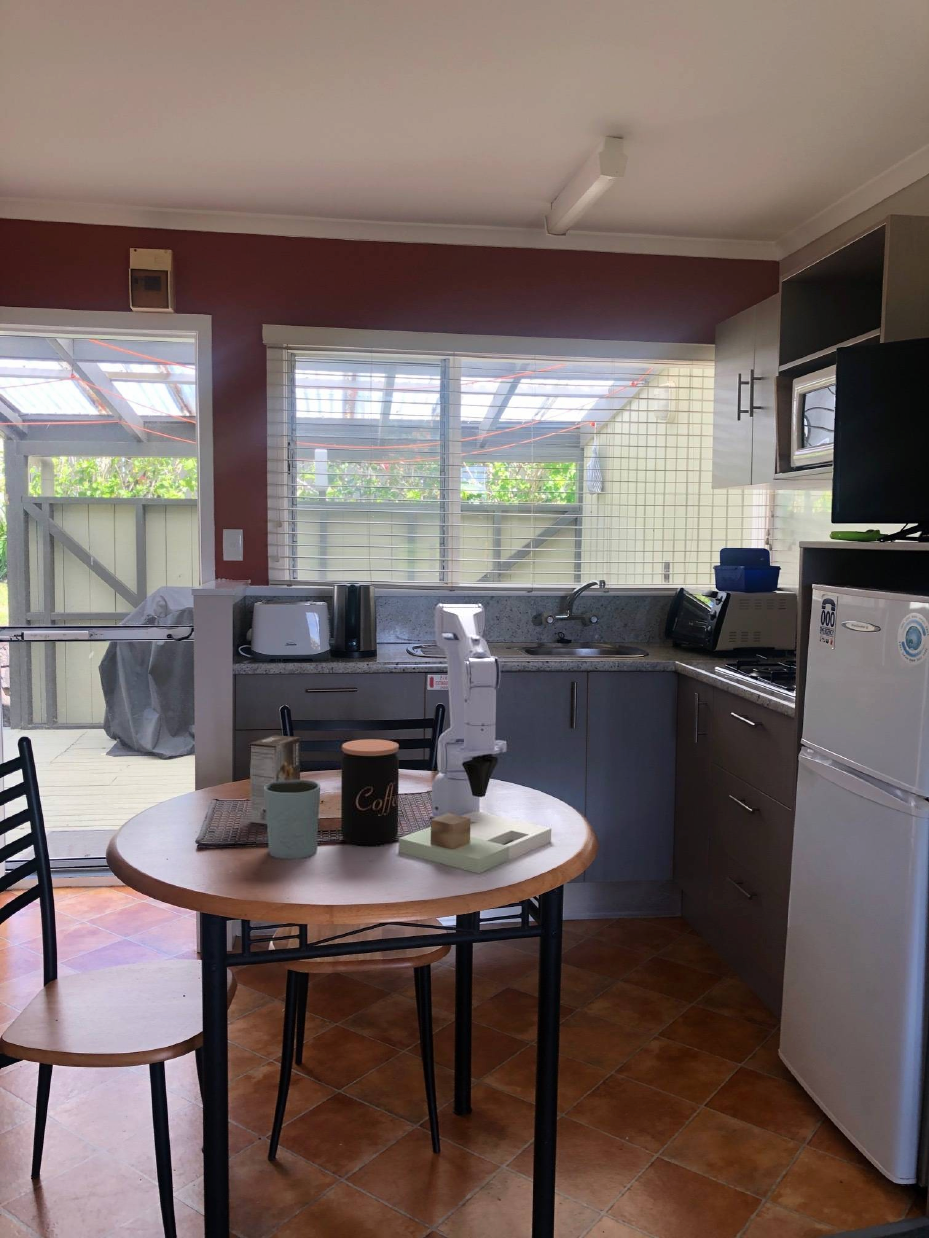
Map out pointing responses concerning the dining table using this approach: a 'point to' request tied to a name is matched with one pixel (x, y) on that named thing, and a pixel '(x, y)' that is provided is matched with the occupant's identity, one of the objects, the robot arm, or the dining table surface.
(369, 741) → the coffee jar
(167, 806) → the dining table surface
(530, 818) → the dining table surface
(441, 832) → the block
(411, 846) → the pale green slotted tray
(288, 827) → the pale green cup
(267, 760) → the coffee box
